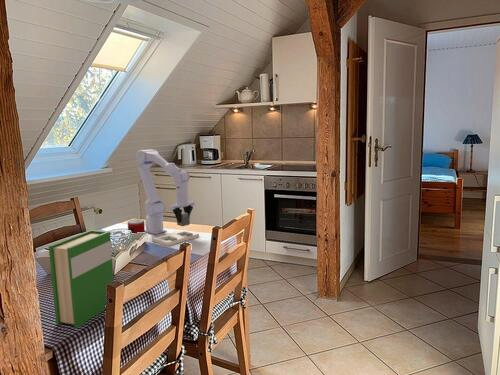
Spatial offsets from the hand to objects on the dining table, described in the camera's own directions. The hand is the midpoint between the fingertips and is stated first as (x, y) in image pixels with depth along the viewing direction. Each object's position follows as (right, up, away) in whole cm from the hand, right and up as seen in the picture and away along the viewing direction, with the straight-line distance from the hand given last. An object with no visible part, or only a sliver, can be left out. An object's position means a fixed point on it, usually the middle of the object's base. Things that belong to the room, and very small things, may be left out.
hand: (183, 221), depth 205 cm
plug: (0, -2, 0) cm, 2 cm away
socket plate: (-3, -9, -2) cm, 10 cm away
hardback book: (-17, -22, -79) cm, 84 cm away
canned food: (-21, -10, -8) cm, 25 cm away
